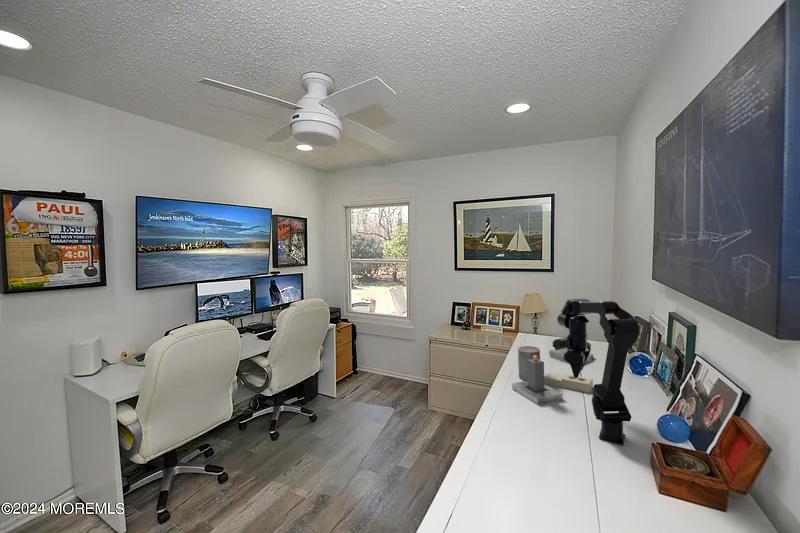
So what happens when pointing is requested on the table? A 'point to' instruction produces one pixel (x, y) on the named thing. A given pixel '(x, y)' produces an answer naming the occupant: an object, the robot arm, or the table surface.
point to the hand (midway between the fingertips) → (578, 373)
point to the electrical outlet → (569, 382)
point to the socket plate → (540, 397)
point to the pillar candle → (523, 356)
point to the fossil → (560, 353)
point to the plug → (535, 374)
